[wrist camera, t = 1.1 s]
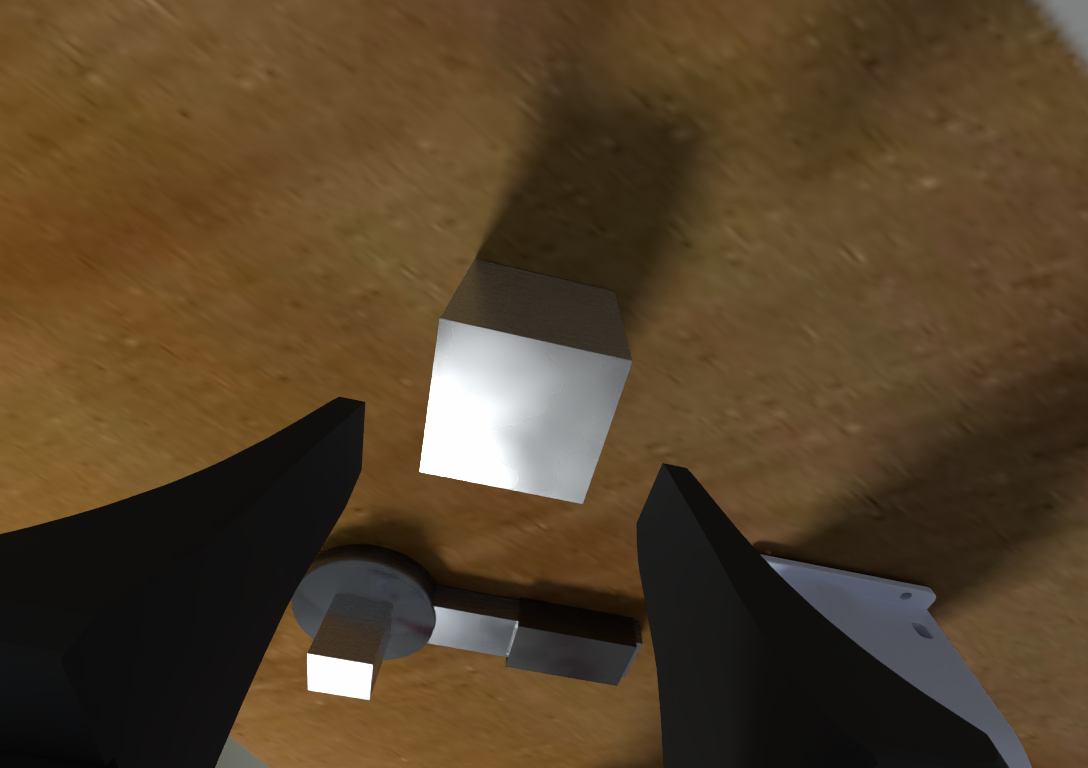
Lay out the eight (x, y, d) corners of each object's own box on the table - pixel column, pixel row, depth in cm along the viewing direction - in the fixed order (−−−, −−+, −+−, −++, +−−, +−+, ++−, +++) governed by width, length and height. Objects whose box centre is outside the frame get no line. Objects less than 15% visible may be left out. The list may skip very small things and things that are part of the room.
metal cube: (614, 291, 18) (632, 360, 13) (578, 408, 20) (582, 503, 15) (474, 258, 17) (439, 318, 13) (455, 381, 20) (419, 471, 15)
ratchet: (651, 597, 25) (666, 685, 22) (612, 676, 29) (619, 764, 25) (304, 532, 24) (254, 614, 20) (305, 622, 27) (263, 707, 24)
